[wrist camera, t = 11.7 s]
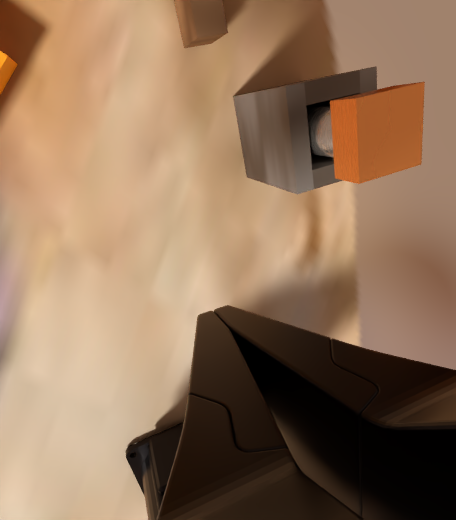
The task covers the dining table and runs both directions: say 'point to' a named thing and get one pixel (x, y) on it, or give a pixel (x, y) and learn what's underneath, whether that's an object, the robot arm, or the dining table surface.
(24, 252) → the dining table surface
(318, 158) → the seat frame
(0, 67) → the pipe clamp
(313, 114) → the orange handled peg
